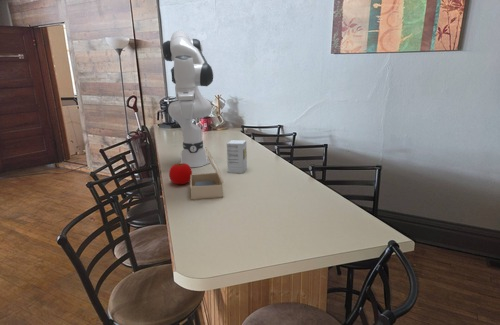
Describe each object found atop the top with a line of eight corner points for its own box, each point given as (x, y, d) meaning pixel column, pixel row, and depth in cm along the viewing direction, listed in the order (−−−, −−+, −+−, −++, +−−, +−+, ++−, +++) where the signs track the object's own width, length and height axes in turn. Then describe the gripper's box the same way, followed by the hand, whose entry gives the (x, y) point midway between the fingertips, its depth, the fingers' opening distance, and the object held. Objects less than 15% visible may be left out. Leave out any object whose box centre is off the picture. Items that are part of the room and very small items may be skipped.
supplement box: (243, 173, 177) (242, 143, 172) (227, 172, 178) (226, 143, 174) (247, 168, 186) (246, 140, 181) (231, 167, 187) (230, 139, 183)
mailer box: (191, 186, 159) (190, 174, 157) (219, 183, 161) (218, 172, 159) (191, 199, 142) (190, 187, 140) (222, 197, 144) (222, 184, 142)
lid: (205, 147, 155) (206, 146, 155) (218, 171, 159) (220, 171, 159) (207, 156, 138) (208, 156, 138) (222, 183, 142) (223, 183, 142)
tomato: (170, 188, 157) (168, 167, 154) (169, 180, 168) (167, 161, 165) (193, 185, 159) (192, 165, 156) (191, 178, 171) (189, 159, 168)
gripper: (179, 93, 147) (181, 123, 151) (177, 96, 128) (180, 130, 132) (193, 93, 148) (195, 122, 152) (193, 96, 129) (196, 130, 133)
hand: (188, 126), depth 142 cm, fingers open, 6 cm apart
